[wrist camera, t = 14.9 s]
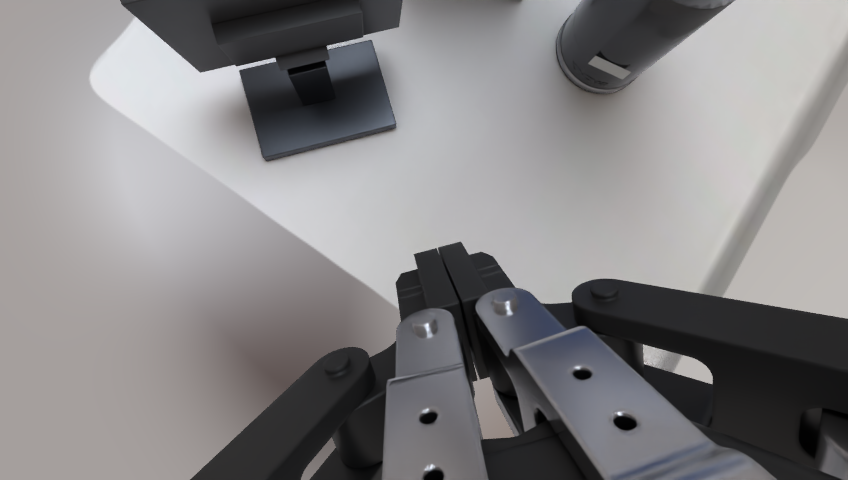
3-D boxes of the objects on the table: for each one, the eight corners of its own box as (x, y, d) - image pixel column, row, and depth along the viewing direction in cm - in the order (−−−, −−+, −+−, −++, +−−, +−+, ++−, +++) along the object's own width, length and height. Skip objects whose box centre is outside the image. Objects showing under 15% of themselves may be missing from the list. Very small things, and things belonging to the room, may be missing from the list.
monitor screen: (194, 52, 35) (111, -26, 24) (393, 7, 36) (402, -85, 25) (208, 99, 35) (133, 43, 24) (406, 52, 37) (420, -19, 26)
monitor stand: (243, 75, 41) (211, 33, 34) (372, 45, 43) (368, -2, 35) (266, 161, 41) (240, 137, 33) (396, 128, 42) (398, 98, 35)
